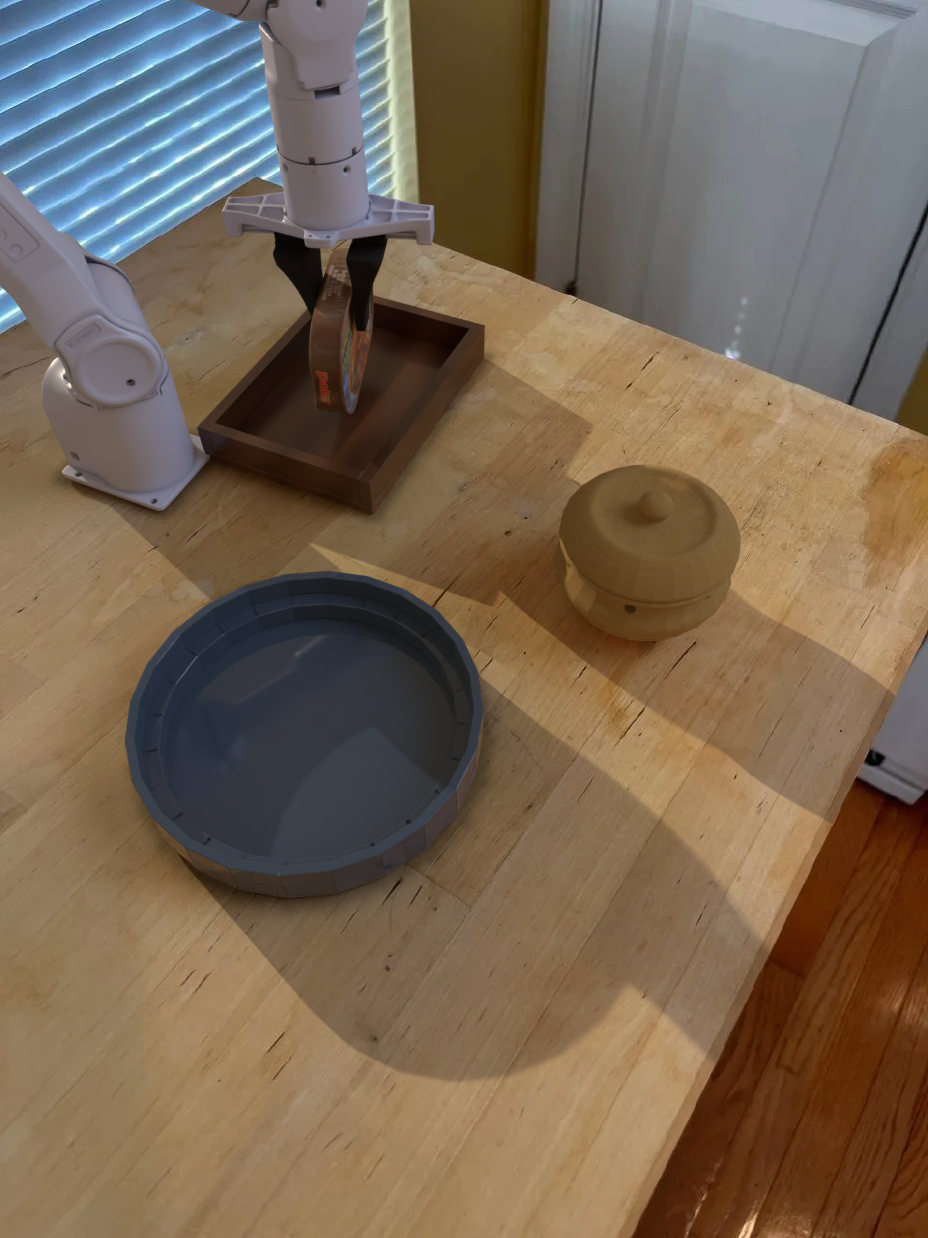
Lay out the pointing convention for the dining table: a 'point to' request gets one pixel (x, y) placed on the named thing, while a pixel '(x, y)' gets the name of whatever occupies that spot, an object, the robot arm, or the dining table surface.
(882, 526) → the dining table surface
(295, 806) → the bowl
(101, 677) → the dining table surface
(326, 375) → the tin
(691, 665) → the dining table surface
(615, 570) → the pot
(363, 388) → the holder
